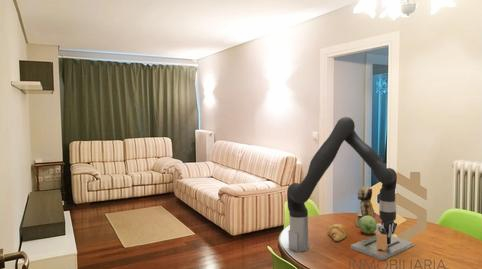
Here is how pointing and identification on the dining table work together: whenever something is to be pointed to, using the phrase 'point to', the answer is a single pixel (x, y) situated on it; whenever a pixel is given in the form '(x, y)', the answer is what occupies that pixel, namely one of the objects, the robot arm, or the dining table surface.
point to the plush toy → (365, 204)
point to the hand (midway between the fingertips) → (387, 243)
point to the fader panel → (371, 249)
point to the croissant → (337, 231)
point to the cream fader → (377, 228)
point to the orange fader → (381, 241)
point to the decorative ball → (367, 224)
